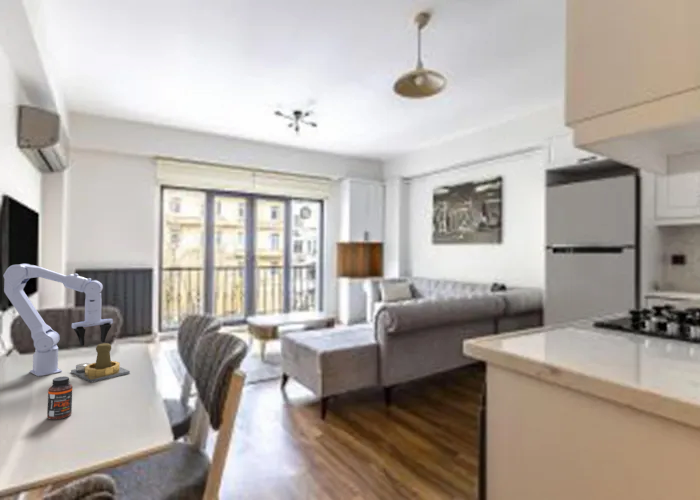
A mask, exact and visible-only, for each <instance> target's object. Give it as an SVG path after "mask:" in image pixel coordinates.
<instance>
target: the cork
mask: <svg viewBox="0 0 700 500" xmlns="http://www.w3.org/2000/svg"><path fill="white" fill-rule="evenodd" d="M111 350H112V345H111V343H108V342H107V343H106V342H101V343H98V344H97V345H96V347H95V352H97V356H96V360H95V363H96V365H95V369H101V368H108V367H112V366H111V361H112V360H111Z"/></svg>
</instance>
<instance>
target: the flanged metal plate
mask: <svg viewBox="0 0 700 500" xmlns="http://www.w3.org/2000/svg"><path fill="white" fill-rule="evenodd" d="M95 365H96V362H92V363H89V362H88V363H87V362H86V363H85V362H84V363H79V364H76V365H75V368H74V369H71V370H70V373H71V374H73V375H75V376H77V377H79V378H81V379H82V380H85V381H87V382H89V383H93V382H98V381H103V380H107V379H111V378H116V377H120V376H125V375H129V374H131V373H130V370H129V369H126V368H124V367H121V364H120V362H119V361H116V360H115V361H114V360H111V366H112V367H108V368H101V369H95Z"/></svg>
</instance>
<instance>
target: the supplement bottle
mask: <svg viewBox="0 0 700 500" xmlns="http://www.w3.org/2000/svg"><path fill="white" fill-rule="evenodd" d="M51 383H52V385H50V387H48V391H47V410H46V411H47V413H46V414H47V419H49V420H61V419H62V420H63V419H64V418H67V417H69V416H71V414H72V413H73V412H72V411H73V385H72V383H70V377H69V376H66V375H65V376H57V377H54V378H53V379H52V382H51Z"/></svg>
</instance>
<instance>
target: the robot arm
mask: <svg viewBox="0 0 700 500" xmlns="http://www.w3.org/2000/svg"><path fill="white" fill-rule="evenodd" d="M3 278H4V280H3V281H4V284H3V285H4V286H3V287H4V288H3V292H4V294H5V296H6V297H7V298H8V300H9V301H10V303H11V305H13V308H14V309H15V310H16V312H17V313H18V314H19V316H20V317H21V319H22V320H23V322H24V323H25V325H26V326H27V327H28V329H29V330H30V333H31V334H30V337H31V339H32V341H33V348H35V352H33V355H32V369H30V370H29V373H31V374H33V375H34V376H36V377H42V376H47V375H52V374H57V373H62V372H63V370H61V369H59V347H58V345H57V344H58V343H59V342H60V340H61V337H60V336H61V335H60V334H59V332H57V331H55V330H53V329H52V327H51V326H50V325H49V324H47V323H46V322H45V321H44V319H43V317H42V316H41V314H40V313H39V312H38V310H37V308H36V307H35V306H34V304H33V302H32V301H31V300H30V299H29V297H28V295H27V294H26V292H25V290H24V289H25V287H26V285H27V282H28V281H29V280H30V279H33V278H41V279H46V280H50V281H53V282H57V283H61V284H62V285H63V287H64V288H66V289H69V290H74V291H77V292H80V293H84V295H85V300H84V320H83V321H79V322H78V321H77V322H72V323H71V329H73V330H74V332H75V333H76V336H77V338H78V341H79V345H80V346H82V347H84V346H85V336H86V335H85V334H86V328H88V327H94V326H99V328H100V329H99V330H100V343H106V338H107V335H108V333H109V331H110V330H111V328H112V324H114V319H113V318H103V319H102V302H103V301H102V291H103V289H104V285H103V283H102V282H100V281H99V280H97V279H92V278H91V277H88V278H86V277H84V276H81V275H79V274H78V273H70V274H68V275H66V274H63V273H60V272H57V271H54V270H51V269H47V268H45V267H42V266H38V265H34V264H30V263H20V264H12V265H10V266H9V267H7V268H6V270H5V272H4V273H3Z"/></svg>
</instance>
